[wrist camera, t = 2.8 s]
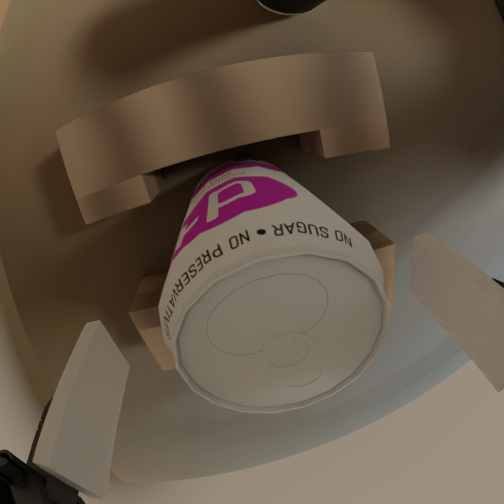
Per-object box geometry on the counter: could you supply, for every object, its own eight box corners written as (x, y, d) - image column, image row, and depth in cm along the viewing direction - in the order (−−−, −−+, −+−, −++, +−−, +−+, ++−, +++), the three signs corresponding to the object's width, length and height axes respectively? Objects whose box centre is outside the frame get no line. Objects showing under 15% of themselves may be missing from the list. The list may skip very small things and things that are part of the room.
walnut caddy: (341, 63, 17) (372, 51, 13) (367, 281, 26) (391, 311, 22) (87, 127, 17) (55, 130, 13) (169, 332, 26) (163, 370, 22)
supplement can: (171, 189, 20) (96, 314, 7) (269, 137, 20) (378, 172, 6) (222, 272, 24) (233, 437, 10) (310, 228, 23) (411, 361, 10)
